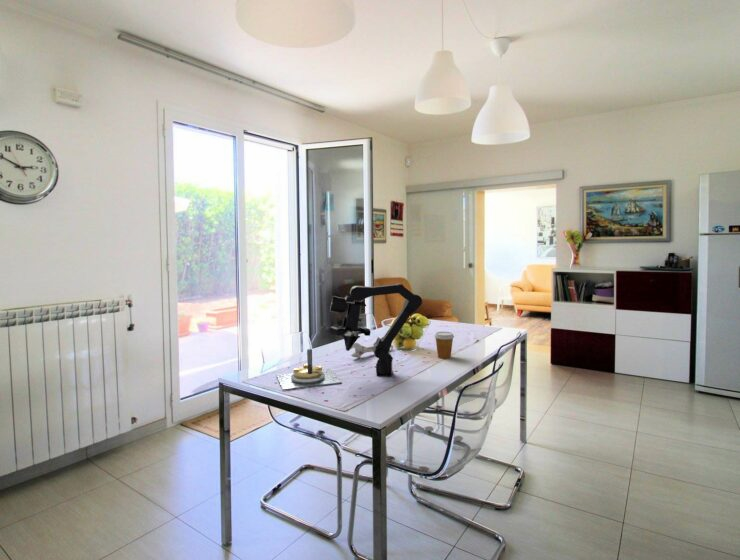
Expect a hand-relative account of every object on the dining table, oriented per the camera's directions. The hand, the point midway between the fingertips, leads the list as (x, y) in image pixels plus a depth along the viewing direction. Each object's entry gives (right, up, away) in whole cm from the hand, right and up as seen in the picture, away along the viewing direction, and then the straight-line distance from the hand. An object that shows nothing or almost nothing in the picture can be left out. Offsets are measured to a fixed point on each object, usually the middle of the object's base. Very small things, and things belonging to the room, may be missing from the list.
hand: (347, 350), depth 185 cm
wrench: (+11, -8, +37) cm, 39 cm away
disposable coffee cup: (+47, -8, +30) cm, 56 cm away
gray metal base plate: (-17, -12, -3) cm, 21 cm away
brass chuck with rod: (-17, -10, -3) cm, 19 cm away
